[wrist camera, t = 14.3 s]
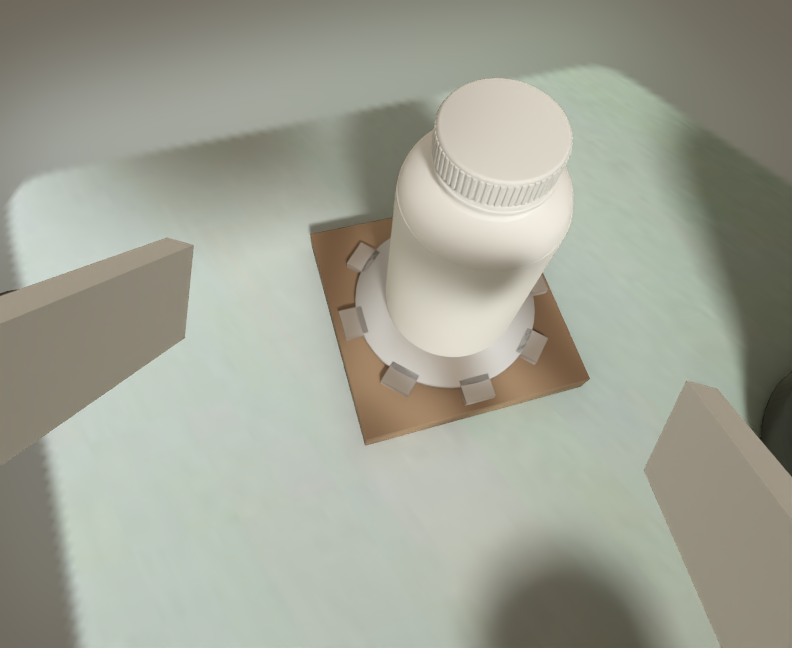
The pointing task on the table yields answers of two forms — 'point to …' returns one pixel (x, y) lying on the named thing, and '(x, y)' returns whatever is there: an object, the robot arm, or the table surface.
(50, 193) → the table surface
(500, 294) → the pill bottle
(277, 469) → the table surface
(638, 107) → the table surface
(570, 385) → the gear board
